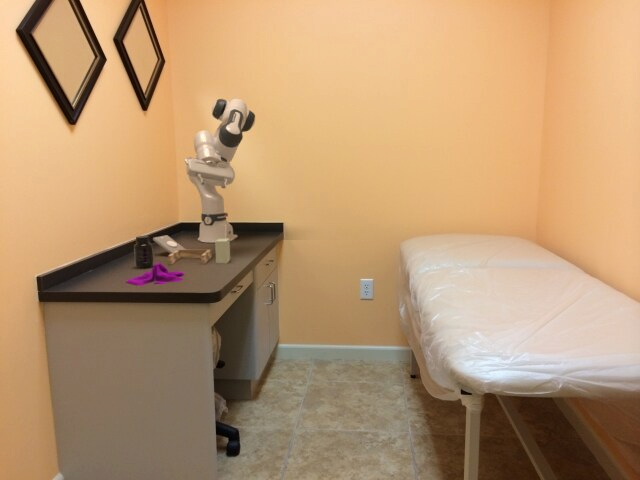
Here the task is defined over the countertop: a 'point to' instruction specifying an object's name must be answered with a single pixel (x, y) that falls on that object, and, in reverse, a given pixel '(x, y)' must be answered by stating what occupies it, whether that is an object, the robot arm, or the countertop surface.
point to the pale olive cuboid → (222, 250)
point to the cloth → (157, 276)
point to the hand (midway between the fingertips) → (213, 185)
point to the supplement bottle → (143, 252)
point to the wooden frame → (190, 255)
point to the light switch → (168, 243)
